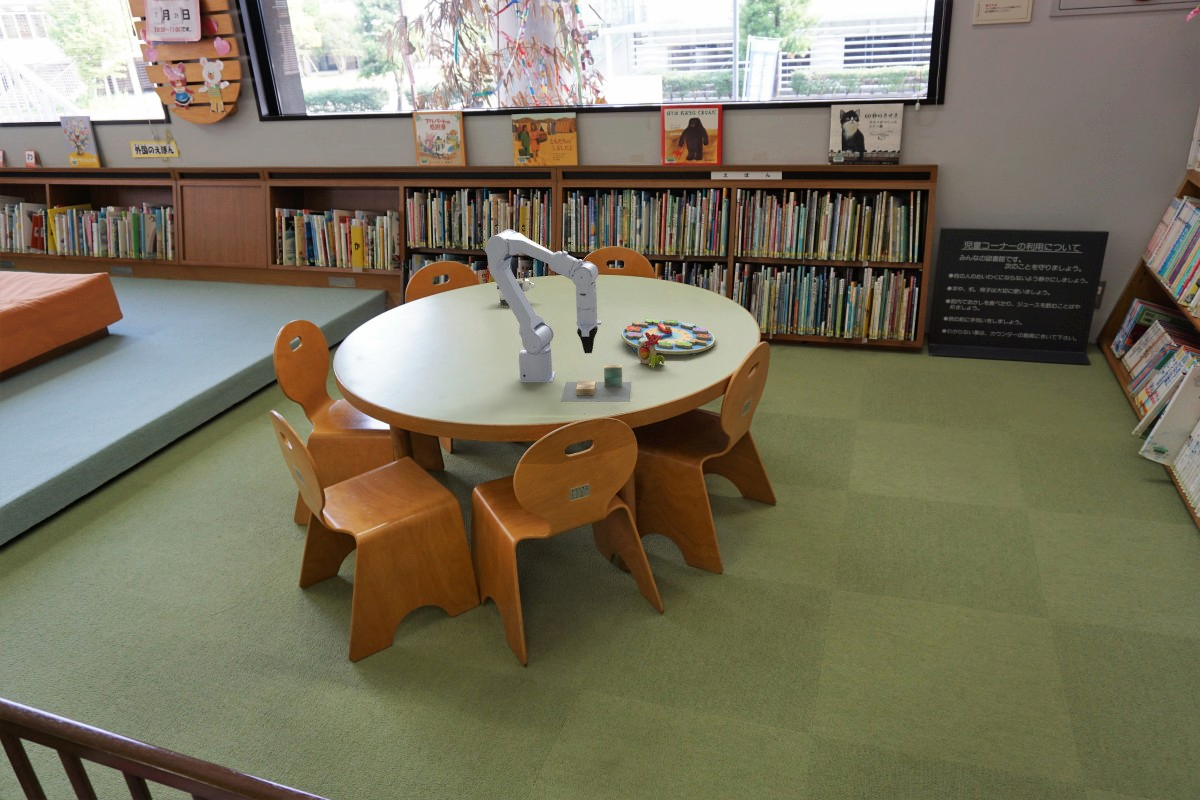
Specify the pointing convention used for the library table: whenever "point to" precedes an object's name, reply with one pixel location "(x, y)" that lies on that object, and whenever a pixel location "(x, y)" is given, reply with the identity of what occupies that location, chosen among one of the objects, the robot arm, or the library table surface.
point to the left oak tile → (586, 388)
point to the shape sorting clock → (669, 336)
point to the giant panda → (524, 285)
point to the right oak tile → (613, 375)
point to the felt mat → (598, 393)
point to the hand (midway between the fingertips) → (588, 352)
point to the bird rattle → (649, 350)
